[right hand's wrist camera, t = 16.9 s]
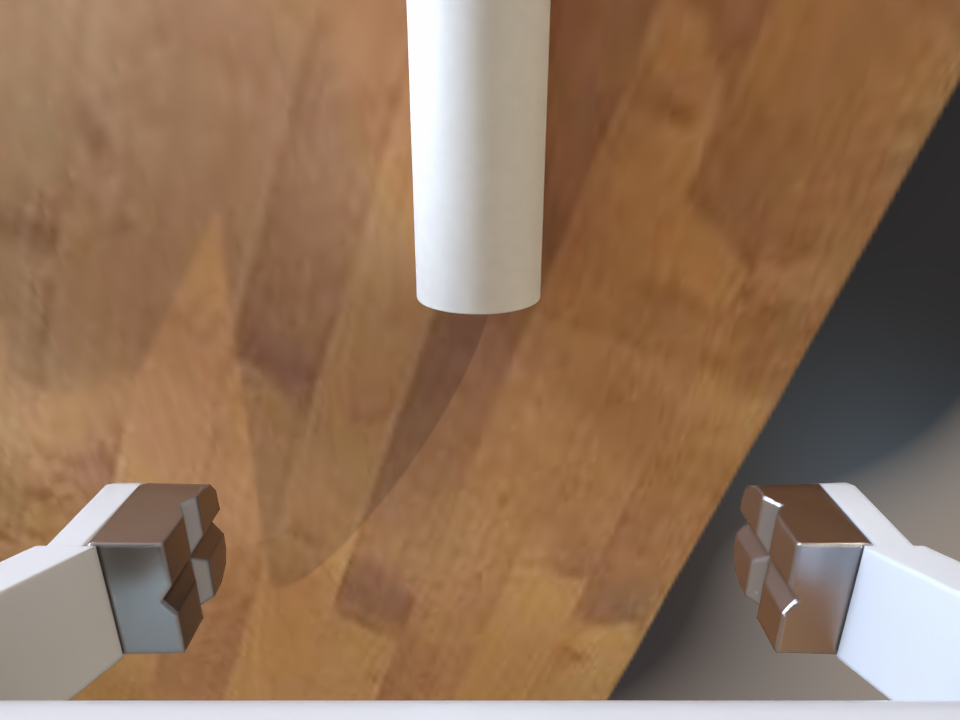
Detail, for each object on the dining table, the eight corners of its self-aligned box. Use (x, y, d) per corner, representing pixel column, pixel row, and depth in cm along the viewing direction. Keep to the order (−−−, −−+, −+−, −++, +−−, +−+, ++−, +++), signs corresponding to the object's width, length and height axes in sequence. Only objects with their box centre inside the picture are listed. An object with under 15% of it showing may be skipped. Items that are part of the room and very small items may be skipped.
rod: (535, 280, 36) (545, 315, 31) (422, 280, 36) (411, 314, 31) (555, -344, 27) (575, -462, 21) (402, -344, 27) (381, -462, 21)
